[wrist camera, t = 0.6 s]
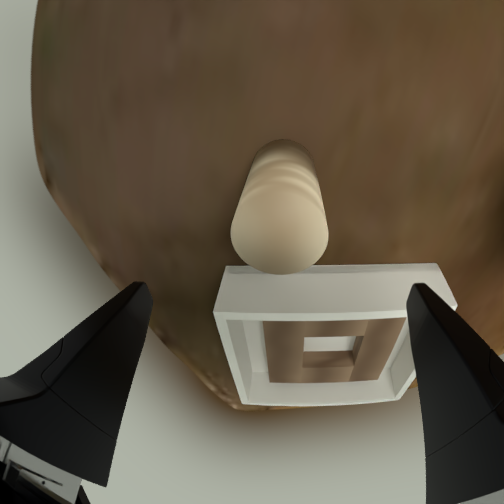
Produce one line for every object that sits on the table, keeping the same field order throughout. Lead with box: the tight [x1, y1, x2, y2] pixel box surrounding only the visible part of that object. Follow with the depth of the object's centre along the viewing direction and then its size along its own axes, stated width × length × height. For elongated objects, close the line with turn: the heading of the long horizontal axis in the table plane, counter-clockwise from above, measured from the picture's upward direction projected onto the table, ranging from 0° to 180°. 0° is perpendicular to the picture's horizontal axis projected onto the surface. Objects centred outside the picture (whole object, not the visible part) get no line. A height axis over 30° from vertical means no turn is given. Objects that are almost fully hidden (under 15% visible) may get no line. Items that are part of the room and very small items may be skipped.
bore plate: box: [262, 317, 407, 383], centre depth 25 cm, size 12×12×2 cm
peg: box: [231, 139, 328, 275], centre depth 15 cm, size 4×4×8 cm
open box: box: [213, 263, 458, 406], centre depth 25 cm, size 18×16×5 cm
